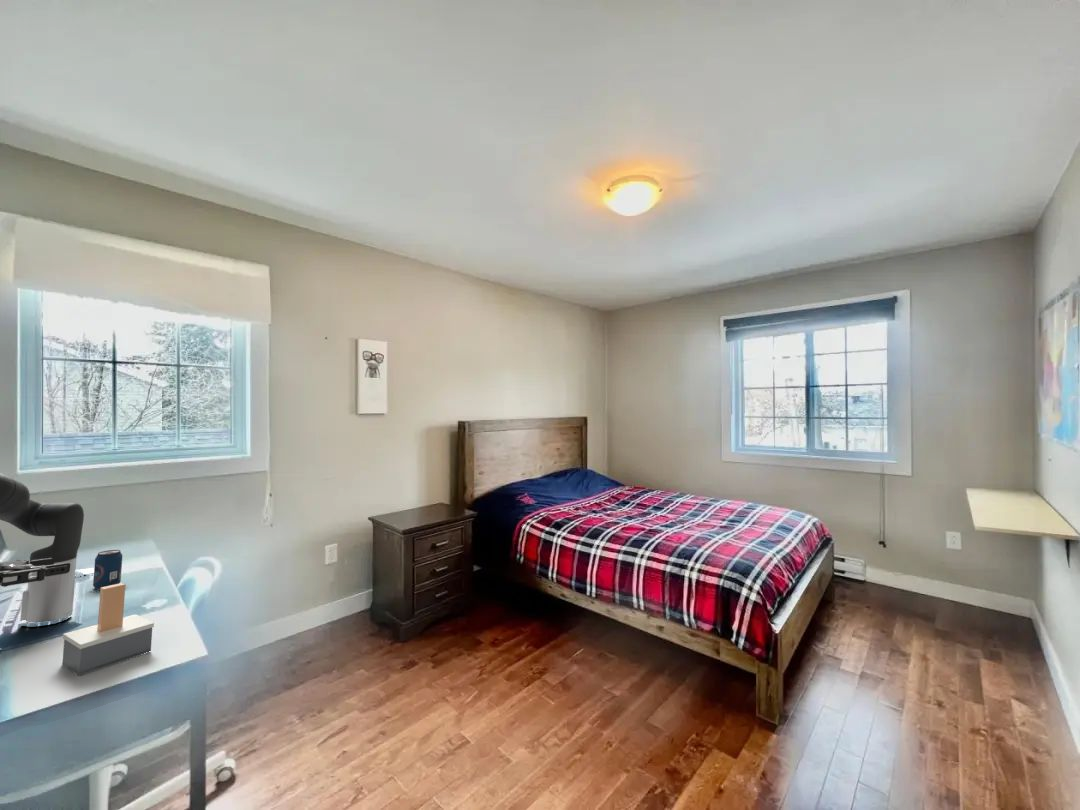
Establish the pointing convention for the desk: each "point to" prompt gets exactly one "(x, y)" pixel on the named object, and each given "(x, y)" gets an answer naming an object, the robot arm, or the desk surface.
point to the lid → (109, 620)
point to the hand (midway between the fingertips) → (61, 565)
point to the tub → (106, 652)
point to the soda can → (107, 568)
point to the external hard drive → (86, 571)
